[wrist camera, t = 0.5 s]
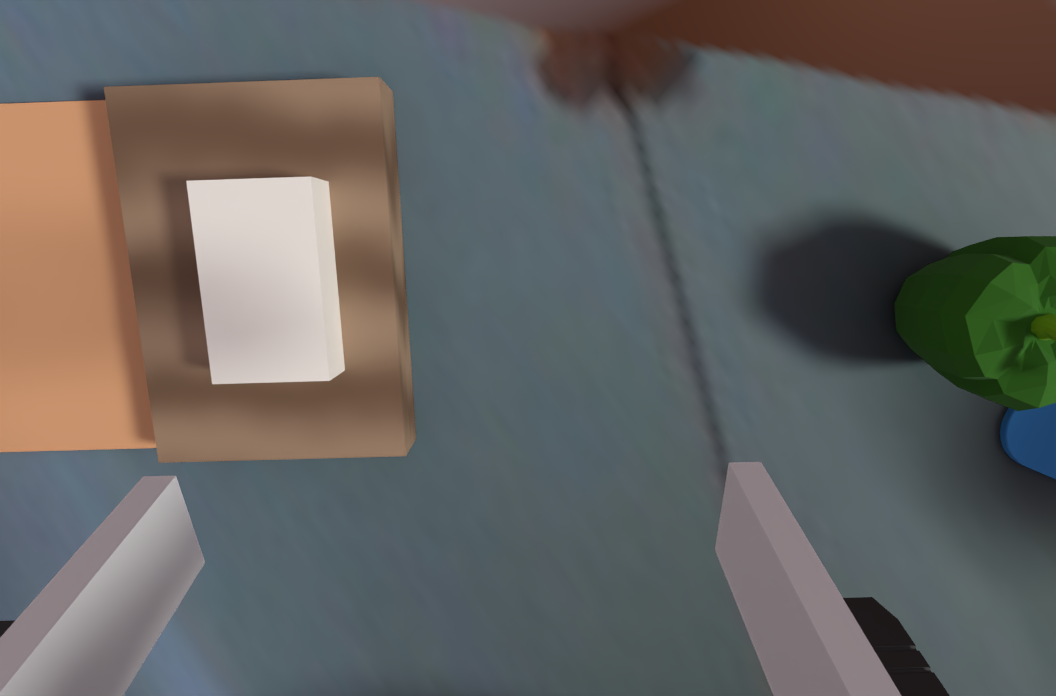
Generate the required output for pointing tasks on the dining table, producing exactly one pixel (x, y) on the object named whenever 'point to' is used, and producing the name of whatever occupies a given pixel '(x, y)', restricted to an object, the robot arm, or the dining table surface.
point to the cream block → (267, 279)
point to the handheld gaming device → (1031, 438)
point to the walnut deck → (360, 254)
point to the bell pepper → (988, 319)
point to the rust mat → (66, 287)
